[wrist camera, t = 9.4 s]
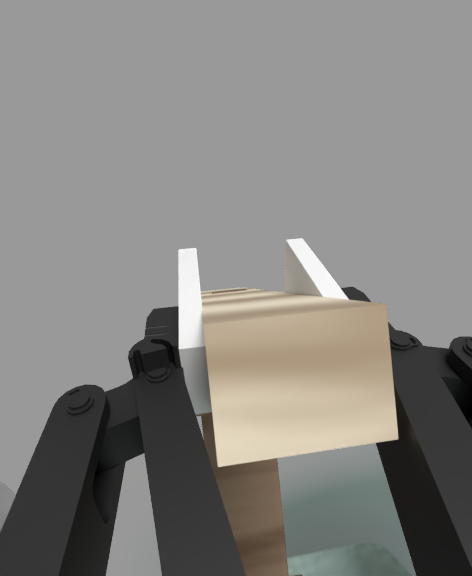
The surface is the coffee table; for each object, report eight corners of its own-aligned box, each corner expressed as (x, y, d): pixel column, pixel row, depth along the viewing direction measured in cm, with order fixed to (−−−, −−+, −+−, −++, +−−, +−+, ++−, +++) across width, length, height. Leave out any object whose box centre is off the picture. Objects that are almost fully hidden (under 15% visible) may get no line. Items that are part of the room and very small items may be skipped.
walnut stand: (358, 721, 28) (326, 372, 27) (181, 761, 27) (142, 396, 26) (311, 589, 40) (288, 345, 39) (187, 613, 39) (161, 360, 38)
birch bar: (398, 439, 8) (385, 299, 8) (218, 467, 7) (202, 319, 7) (245, 318, 34) (242, 286, 34) (203, 323, 33) (200, 290, 33)
